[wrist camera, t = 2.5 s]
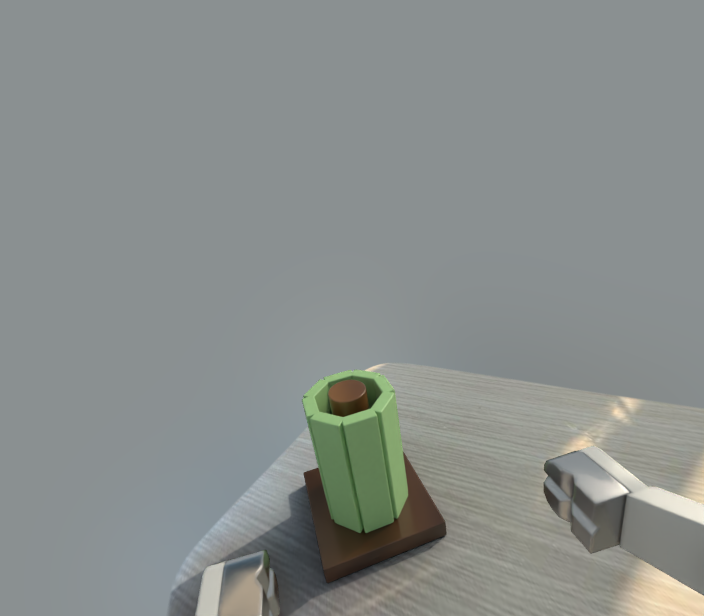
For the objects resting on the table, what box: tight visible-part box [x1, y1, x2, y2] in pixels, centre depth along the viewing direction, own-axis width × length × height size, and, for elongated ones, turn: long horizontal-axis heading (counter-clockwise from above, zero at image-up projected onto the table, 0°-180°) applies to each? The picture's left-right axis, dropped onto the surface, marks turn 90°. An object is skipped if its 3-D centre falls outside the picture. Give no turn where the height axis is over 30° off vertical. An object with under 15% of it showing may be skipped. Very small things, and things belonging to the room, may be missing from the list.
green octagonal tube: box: [302, 370, 408, 533], centre depth 24 cm, size 6×6×8 cm
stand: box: [304, 380, 446, 583], centre depth 24 cm, size 8×8×10 cm
